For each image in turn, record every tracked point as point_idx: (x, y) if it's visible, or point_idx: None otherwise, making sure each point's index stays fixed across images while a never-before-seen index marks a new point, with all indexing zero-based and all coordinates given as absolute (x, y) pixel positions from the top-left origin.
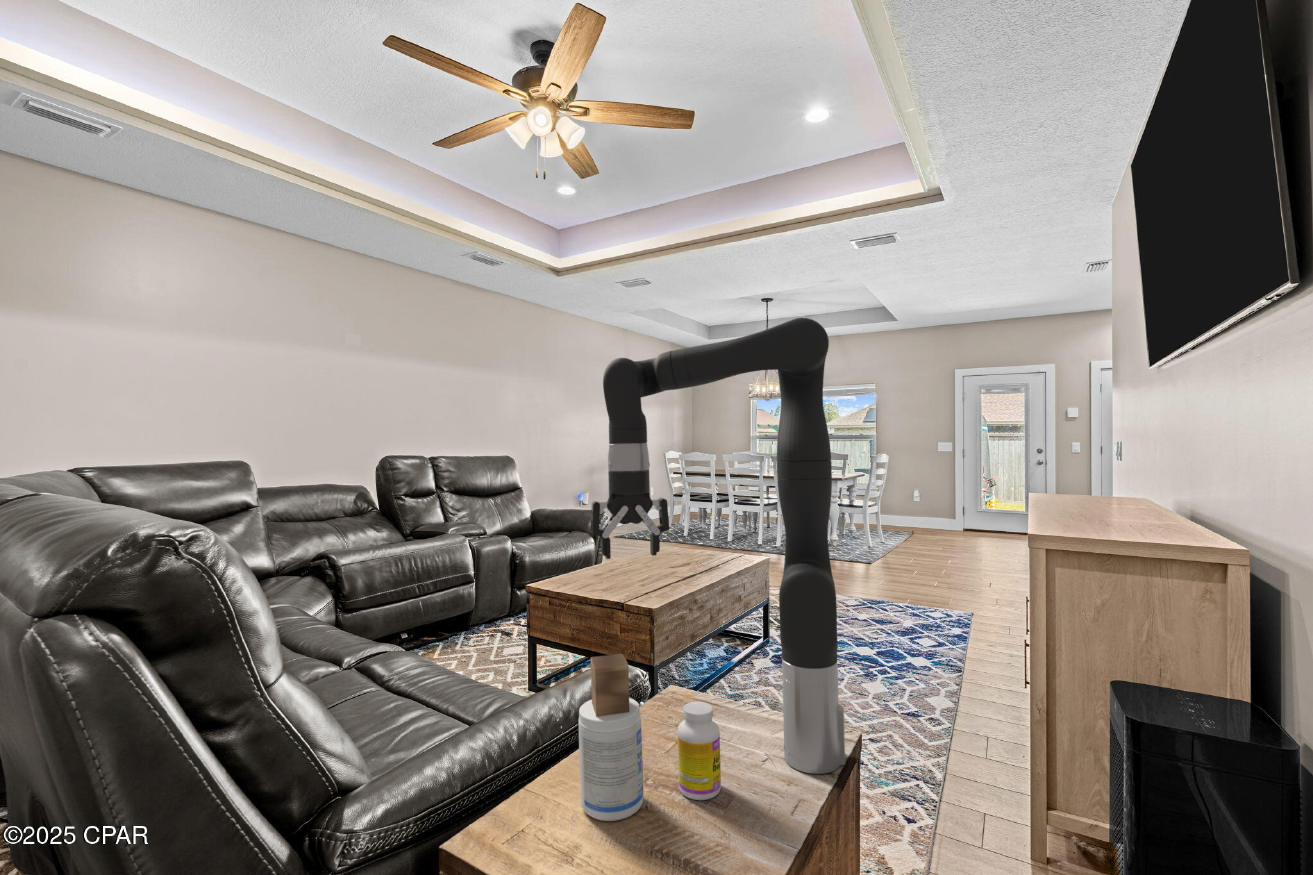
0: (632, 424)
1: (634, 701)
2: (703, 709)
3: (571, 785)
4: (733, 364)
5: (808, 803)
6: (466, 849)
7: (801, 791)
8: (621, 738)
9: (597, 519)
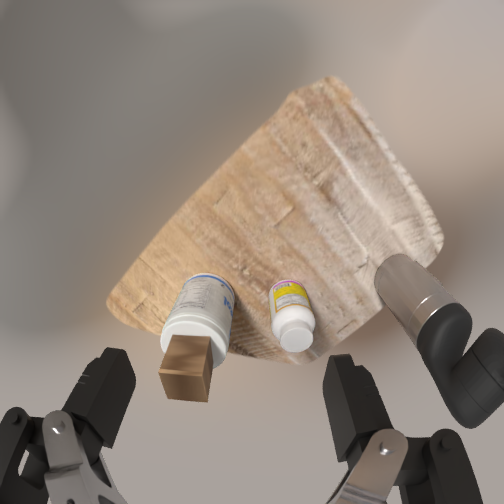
0: None
1: (222, 345)
2: (300, 344)
3: (173, 259)
4: None
5: (355, 324)
6: (113, 309)
7: (360, 312)
8: None
9: (39, 499)
